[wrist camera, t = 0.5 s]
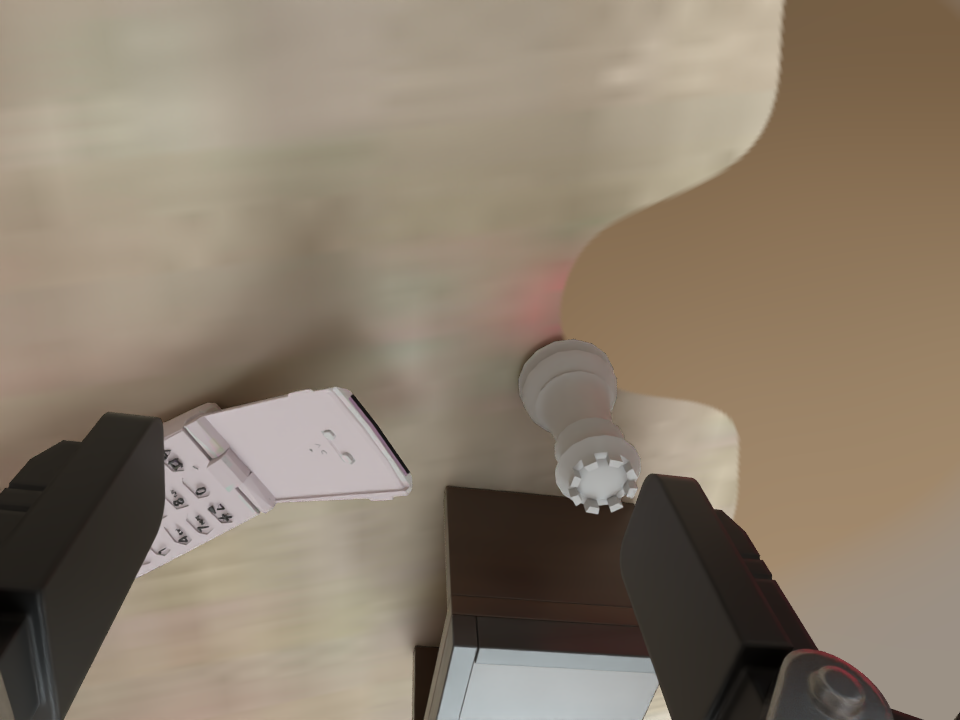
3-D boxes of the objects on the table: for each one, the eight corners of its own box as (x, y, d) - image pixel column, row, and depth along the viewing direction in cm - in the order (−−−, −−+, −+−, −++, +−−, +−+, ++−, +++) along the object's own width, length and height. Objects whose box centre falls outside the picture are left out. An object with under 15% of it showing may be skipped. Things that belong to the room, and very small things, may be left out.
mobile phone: (422, 492, 27) (-57, 715, 31) (423, 412, 32) (13, 612, 36) (338, 376, 24) (-175, 638, 28) (353, 310, 29) (-81, 538, 33)
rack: (446, 485, 34) (453, 645, 26) (634, 503, 36) (698, 660, 27) (412, 657, 40) (409, 831, 32) (574, 666, 42) (612, 835, 33)
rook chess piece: (620, 401, 32) (674, 514, 25) (530, 428, 33) (559, 547, 26) (600, 322, 30) (653, 421, 23) (505, 351, 31) (528, 458, 24)
